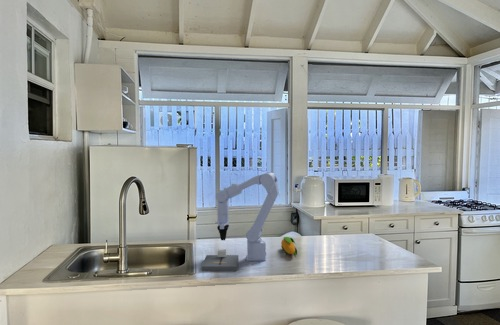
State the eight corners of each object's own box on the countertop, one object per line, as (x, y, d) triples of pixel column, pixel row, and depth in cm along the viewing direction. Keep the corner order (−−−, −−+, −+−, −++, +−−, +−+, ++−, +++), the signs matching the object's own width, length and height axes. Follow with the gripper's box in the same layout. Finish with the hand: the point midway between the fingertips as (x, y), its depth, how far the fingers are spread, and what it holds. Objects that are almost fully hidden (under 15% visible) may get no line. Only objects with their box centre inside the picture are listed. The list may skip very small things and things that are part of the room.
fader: (226, 255, 166) (226, 249, 166) (225, 257, 164) (225, 250, 164) (218, 255, 166) (218, 249, 166) (217, 257, 164) (217, 250, 164)
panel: (238, 259, 168) (238, 254, 168) (236, 270, 152) (236, 266, 152) (206, 259, 168) (206, 254, 168) (201, 270, 152) (201, 266, 152)
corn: (292, 233, 188) (300, 243, 168) (293, 247, 188) (301, 258, 168) (279, 234, 187) (285, 245, 167) (280, 248, 188) (286, 260, 168)
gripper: (216, 210, 180) (217, 235, 180) (213, 216, 165) (213, 243, 166) (230, 210, 179) (230, 235, 180) (228, 216, 165) (228, 243, 166)
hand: (223, 239), depth 173 cm, fingers closed
